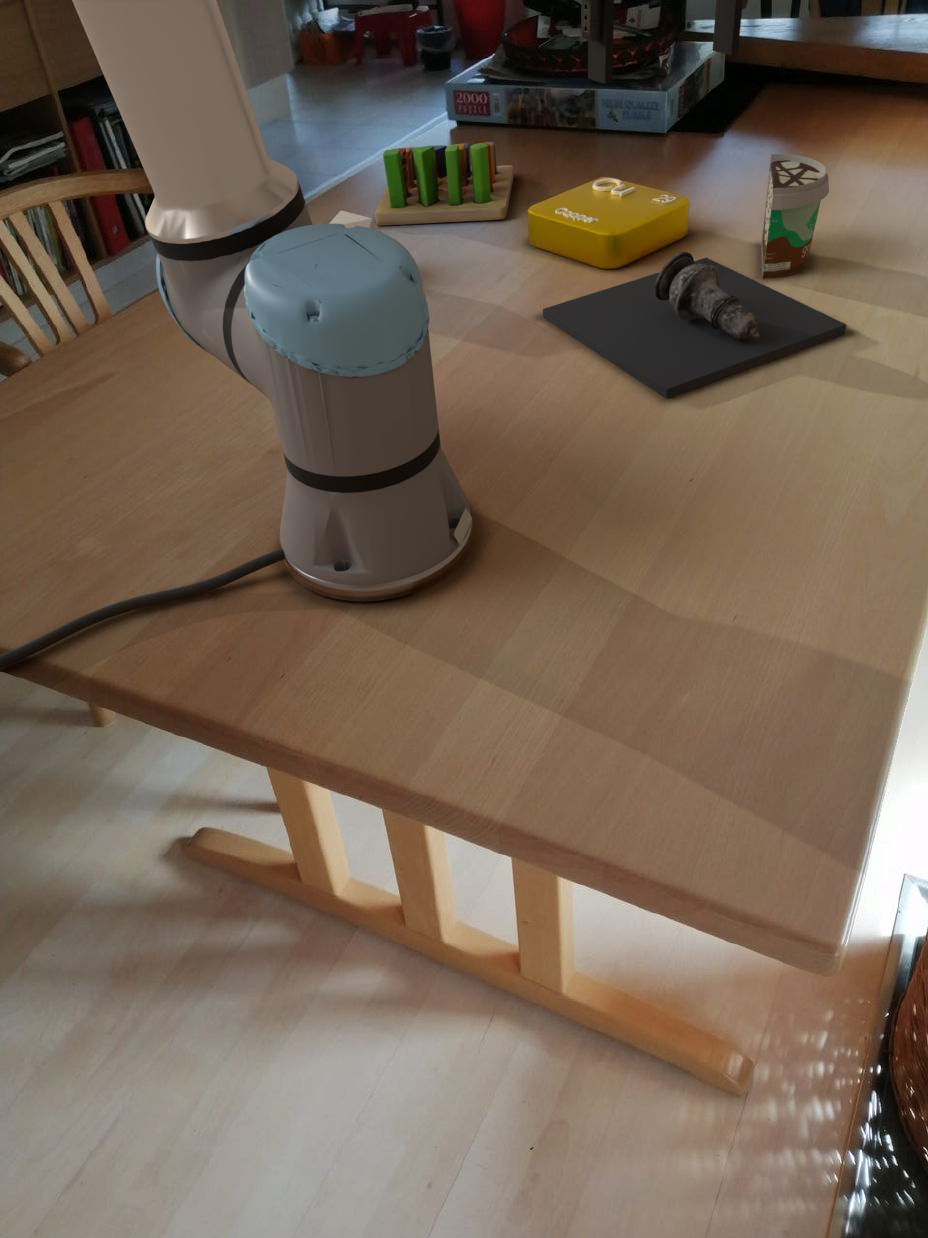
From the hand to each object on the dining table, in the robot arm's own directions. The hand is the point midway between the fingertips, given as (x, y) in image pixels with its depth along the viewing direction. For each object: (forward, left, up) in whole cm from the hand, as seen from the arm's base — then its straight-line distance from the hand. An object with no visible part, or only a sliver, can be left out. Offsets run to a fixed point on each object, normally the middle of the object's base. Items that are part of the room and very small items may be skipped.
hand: (664, 66), depth 90 cm
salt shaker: (+2, 0, -20) cm, 20 cm away
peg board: (0, +48, -25) cm, 54 cm away
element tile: (+9, +22, -25) cm, 34 cm away
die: (-22, +29, -25) cm, 44 cm away
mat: (+2, -3, -24) cm, 25 cm away
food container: (+21, +3, -25) cm, 33 cm away
